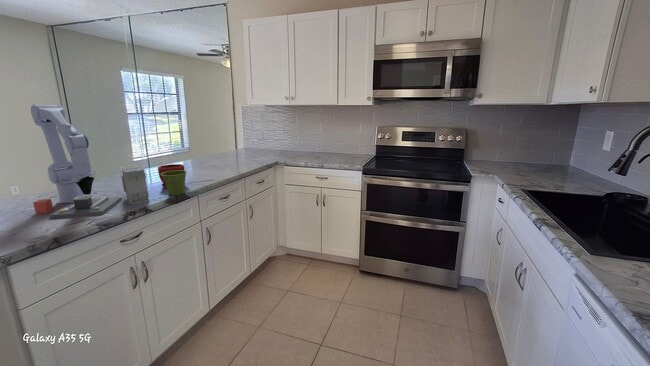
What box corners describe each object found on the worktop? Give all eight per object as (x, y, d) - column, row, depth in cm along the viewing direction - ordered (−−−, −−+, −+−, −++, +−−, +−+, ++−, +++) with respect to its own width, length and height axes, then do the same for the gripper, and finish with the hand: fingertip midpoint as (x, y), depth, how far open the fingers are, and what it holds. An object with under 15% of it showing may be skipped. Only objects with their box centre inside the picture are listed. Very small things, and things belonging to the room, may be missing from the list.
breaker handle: (79, 206, 123) (76, 196, 122) (92, 205, 124) (90, 195, 123) (75, 209, 120) (73, 198, 119) (89, 208, 121) (87, 197, 120)
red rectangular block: (42, 210, 123) (39, 199, 122) (53, 209, 124) (50, 198, 123) (36, 213, 119) (33, 202, 118) (47, 213, 120) (44, 201, 119)
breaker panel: (77, 203, 133) (76, 197, 132) (121, 200, 137) (120, 194, 137) (49, 218, 114) (48, 212, 113) (102, 214, 119) (101, 208, 118)
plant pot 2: (191, 185, 165) (189, 164, 162) (170, 190, 154) (167, 168, 151) (176, 182, 171) (174, 162, 168) (155, 187, 160) (152, 166, 157)
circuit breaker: (141, 194, 147) (137, 165, 144) (149, 200, 137) (144, 169, 134) (124, 197, 142) (119, 167, 138) (131, 203, 132) (125, 172, 129)
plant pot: (160, 193, 148) (157, 172, 145) (184, 189, 156) (182, 169, 153) (168, 198, 140) (164, 176, 137) (192, 194, 148) (190, 172, 145)
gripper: (83, 166, 116) (89, 198, 119) (100, 160, 129) (105, 189, 133) (62, 167, 114) (69, 199, 118) (81, 160, 128) (87, 190, 131)
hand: (87, 194), depth 125 cm, fingers closed
